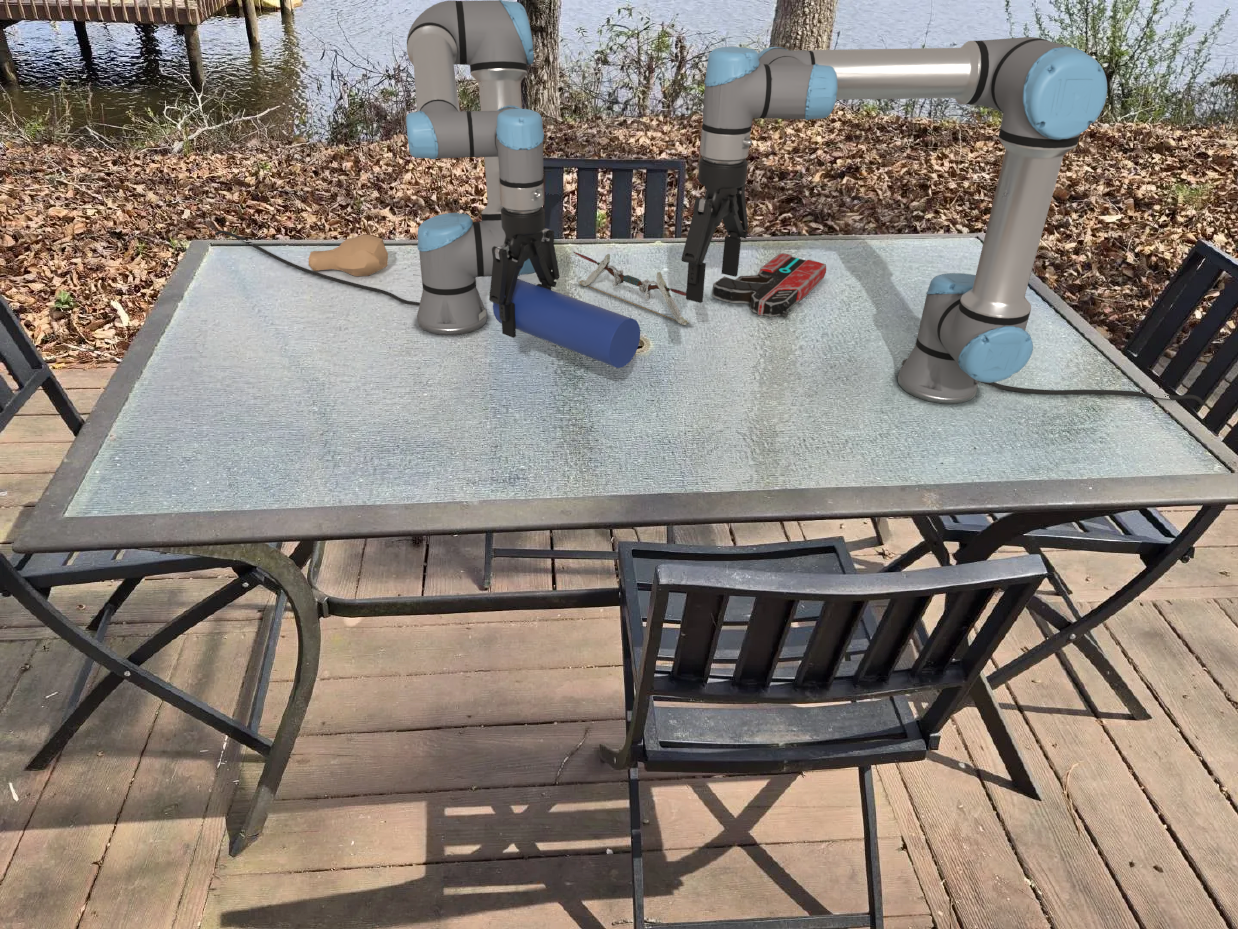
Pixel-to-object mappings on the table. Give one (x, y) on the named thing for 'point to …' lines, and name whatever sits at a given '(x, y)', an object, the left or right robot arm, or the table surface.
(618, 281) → the bow
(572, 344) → the rod
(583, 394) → the table surface
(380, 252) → the squash
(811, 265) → the gun
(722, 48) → the right robot arm
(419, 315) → the left robot arm
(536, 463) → the table surface
